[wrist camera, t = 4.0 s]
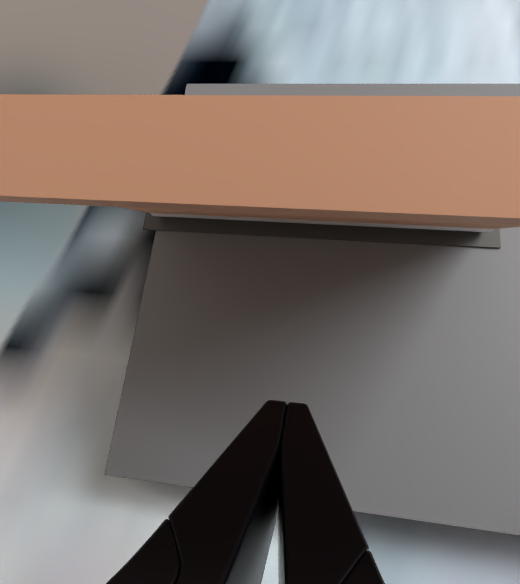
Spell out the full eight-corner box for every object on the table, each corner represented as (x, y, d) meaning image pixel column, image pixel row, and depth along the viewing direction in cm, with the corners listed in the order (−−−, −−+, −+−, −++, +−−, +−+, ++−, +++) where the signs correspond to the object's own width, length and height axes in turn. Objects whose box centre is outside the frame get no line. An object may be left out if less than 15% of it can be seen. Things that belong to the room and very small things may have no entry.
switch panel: (815, 564, 12) (939, 597, 10) (123, 465, 16) (88, 472, 13) (702, 130, 17) (767, 81, 15) (191, 123, 20) (175, 81, 18)
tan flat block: (482, 238, 14) (765, 229, 5) (159, 222, 16) (-58, 193, 7) (487, 192, 14) (791, 97, 5) (160, 180, 16) (-62, 94, 7)
